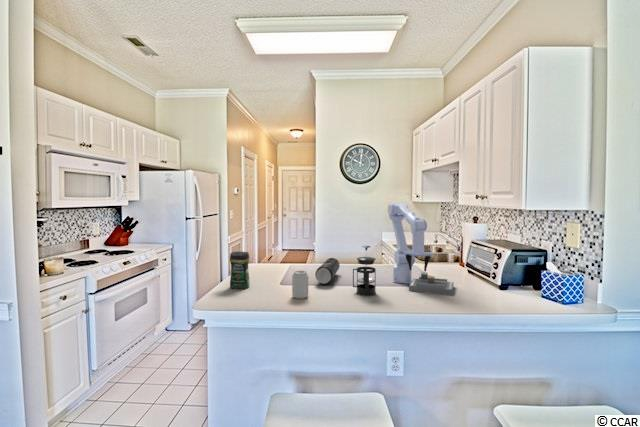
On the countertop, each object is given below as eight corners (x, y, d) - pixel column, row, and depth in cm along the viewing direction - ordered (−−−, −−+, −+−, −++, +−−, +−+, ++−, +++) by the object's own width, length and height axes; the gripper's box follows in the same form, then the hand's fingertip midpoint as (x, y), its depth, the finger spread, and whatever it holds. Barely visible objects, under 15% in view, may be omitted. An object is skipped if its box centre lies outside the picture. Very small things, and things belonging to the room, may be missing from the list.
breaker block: (408, 290, 174) (409, 276, 174) (413, 283, 189) (413, 270, 189) (452, 295, 167) (452, 280, 166) (453, 286, 181) (453, 273, 181)
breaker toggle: (427, 285, 174) (427, 276, 174) (428, 284, 177) (428, 275, 177) (433, 286, 173) (434, 277, 173) (434, 284, 176) (434, 276, 175)
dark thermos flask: (340, 274, 209) (340, 257, 209) (332, 287, 182) (332, 267, 181) (324, 274, 211) (324, 257, 210) (314, 286, 184) (314, 266, 183)
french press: (376, 290, 175) (376, 244, 174) (378, 295, 166) (378, 247, 164) (352, 290, 176) (352, 244, 174) (353, 295, 166) (353, 247, 165)
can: (310, 295, 167) (310, 270, 166) (304, 300, 160) (304, 274, 159) (296, 294, 169) (295, 269, 168) (289, 298, 162) (289, 272, 161)
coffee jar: (227, 289, 178) (227, 252, 177) (233, 285, 186) (233, 250, 185) (246, 289, 176) (245, 253, 175) (251, 285, 184) (251, 250, 183)
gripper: (402, 243, 175) (401, 270, 176) (432, 245, 170) (432, 273, 170) (404, 242, 182) (404, 268, 183) (434, 243, 176) (433, 270, 177)
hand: (417, 270), depth 177 cm, fingers open, 6 cm apart
